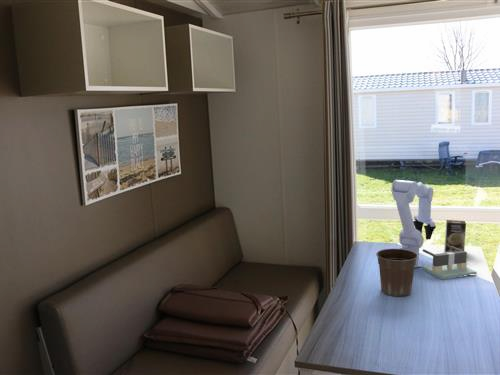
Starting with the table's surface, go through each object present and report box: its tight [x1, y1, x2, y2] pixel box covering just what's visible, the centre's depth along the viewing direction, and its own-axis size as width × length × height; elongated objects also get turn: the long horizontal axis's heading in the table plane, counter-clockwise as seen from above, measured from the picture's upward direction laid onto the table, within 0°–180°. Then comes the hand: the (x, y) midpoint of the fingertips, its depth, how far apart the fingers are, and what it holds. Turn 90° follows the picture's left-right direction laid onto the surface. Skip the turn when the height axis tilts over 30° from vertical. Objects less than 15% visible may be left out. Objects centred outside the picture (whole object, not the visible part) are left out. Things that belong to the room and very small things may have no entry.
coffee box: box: [444, 219, 467, 253], centre depth 263 cm, size 9×6×16 cm
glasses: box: [422, 246, 468, 267], centre depth 238 cm, size 16×10×5 cm, turn 106°
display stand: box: [422, 262, 478, 281], centre depth 235 cm, size 18×14×4 cm
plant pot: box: [375, 248, 418, 297], centre depth 214 cm, size 16×16×16 cm
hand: (423, 237), depth 255 cm, fingers open, 7 cm apart
